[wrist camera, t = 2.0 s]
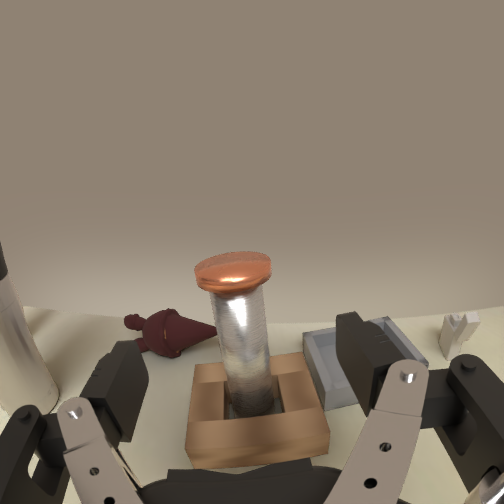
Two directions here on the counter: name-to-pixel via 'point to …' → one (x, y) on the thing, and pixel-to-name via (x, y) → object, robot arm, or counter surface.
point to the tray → (329, 370)
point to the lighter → (457, 332)
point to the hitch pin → (241, 327)
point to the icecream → (168, 332)
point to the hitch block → (255, 419)
